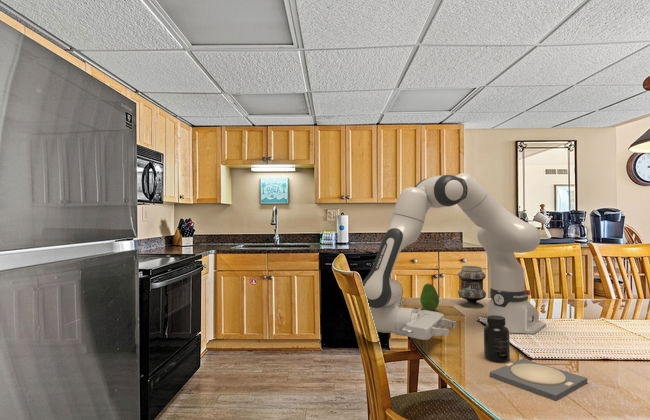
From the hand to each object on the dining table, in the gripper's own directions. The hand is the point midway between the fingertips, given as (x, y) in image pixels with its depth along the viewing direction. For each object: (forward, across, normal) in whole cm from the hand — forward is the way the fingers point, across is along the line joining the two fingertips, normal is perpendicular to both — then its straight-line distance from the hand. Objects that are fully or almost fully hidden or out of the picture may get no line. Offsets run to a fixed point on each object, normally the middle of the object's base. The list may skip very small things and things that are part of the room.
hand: (452, 328), depth 117 cm
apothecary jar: (-6, +66, +7) cm, 67 cm away
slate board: (+23, -10, +7) cm, 26 cm away
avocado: (-20, +47, +7) cm, 52 cm away
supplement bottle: (+12, 0, +7) cm, 14 cm away
